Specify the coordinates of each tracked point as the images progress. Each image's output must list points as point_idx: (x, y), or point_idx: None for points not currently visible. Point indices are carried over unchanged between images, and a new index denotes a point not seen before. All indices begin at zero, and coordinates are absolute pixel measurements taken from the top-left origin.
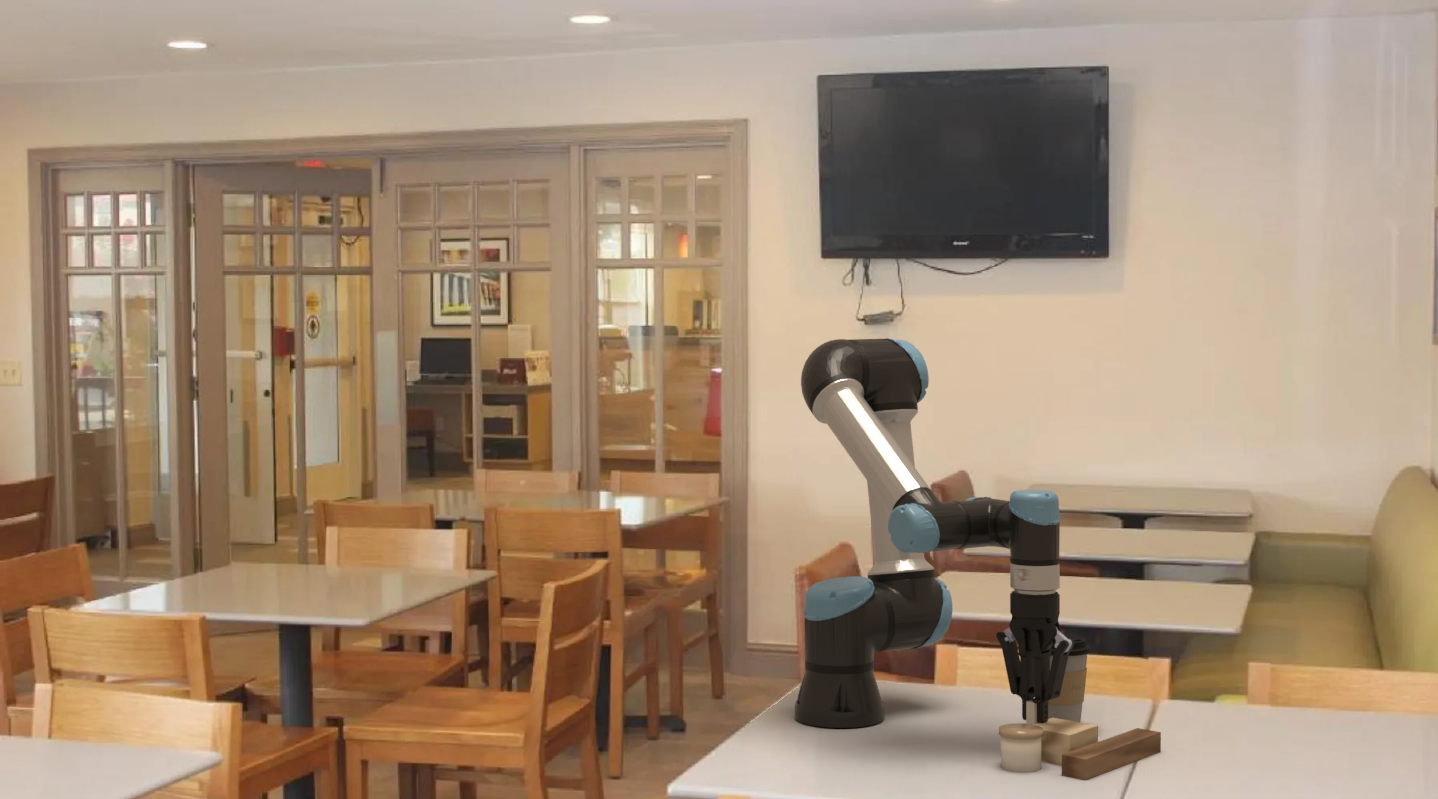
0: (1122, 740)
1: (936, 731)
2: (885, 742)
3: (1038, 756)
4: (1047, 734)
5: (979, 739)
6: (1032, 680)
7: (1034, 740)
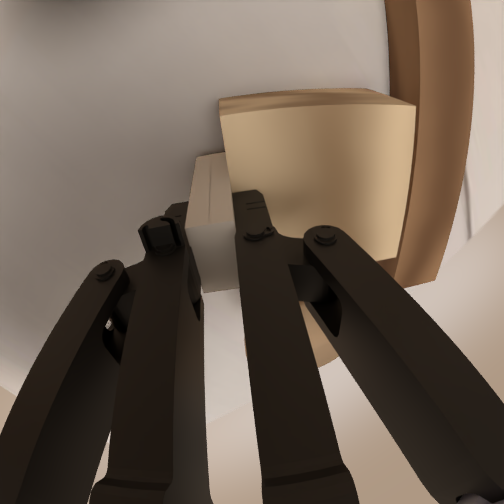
0: (452, 91)
1: None
2: (28, 326)
3: None
4: None
5: (45, 195)
6: (188, 329)
7: None
